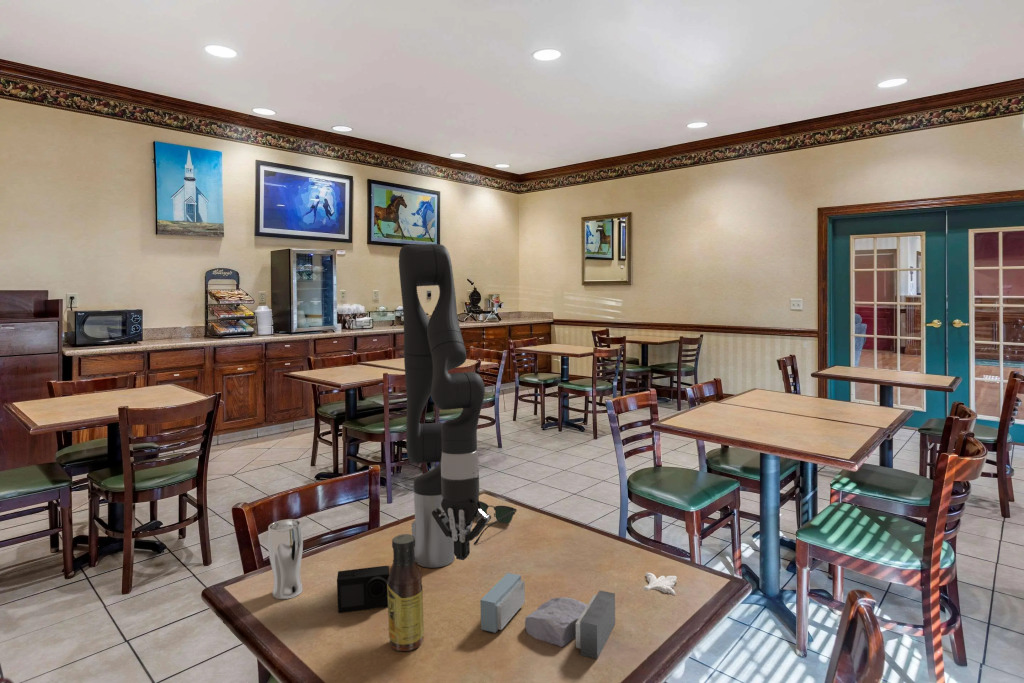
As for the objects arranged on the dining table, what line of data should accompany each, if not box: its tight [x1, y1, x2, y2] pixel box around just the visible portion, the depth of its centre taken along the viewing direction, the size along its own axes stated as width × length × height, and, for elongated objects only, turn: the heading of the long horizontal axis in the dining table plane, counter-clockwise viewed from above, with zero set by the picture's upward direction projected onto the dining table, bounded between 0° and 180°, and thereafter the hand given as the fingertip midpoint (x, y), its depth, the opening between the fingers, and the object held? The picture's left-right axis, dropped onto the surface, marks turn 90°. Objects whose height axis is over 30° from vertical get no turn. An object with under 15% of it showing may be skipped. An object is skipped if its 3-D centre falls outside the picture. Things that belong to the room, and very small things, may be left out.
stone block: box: [524, 596, 588, 648], centre depth 111 cm, size 12×5×10 cm
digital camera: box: [336, 565, 390, 614], centre depth 119 cm, size 10×5×7 cm, turn 103°
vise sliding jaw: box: [479, 572, 526, 634], centre depth 114 cm, size 4×12×6 cm, turn 155°
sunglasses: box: [473, 500, 517, 545], centre depth 159 cm, size 16×17×5 cm
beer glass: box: [267, 518, 304, 600], centre depth 125 cm, size 7×7×15 cm
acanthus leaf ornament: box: [643, 572, 678, 596], centre depth 126 cm, size 8×7×2 cm
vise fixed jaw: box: [575, 590, 616, 660], centre depth 106 cm, size 4×12×6 cm, turn 155°
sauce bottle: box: [387, 533, 425, 652], centre depth 105 cm, size 6×6×20 cm
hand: (462, 558), depth 117 cm, fingers closed
